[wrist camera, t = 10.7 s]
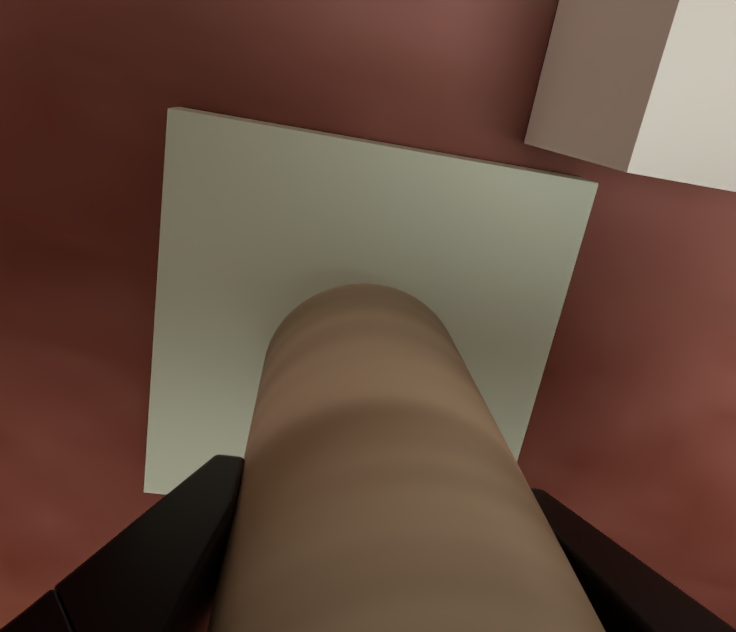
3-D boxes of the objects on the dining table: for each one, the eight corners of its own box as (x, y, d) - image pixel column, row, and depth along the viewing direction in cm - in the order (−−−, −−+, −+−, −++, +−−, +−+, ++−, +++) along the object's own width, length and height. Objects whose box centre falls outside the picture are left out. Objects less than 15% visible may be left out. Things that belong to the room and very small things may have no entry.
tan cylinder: (435, 469, 14) (682, 1290, 4) (252, 449, 13) (85, 1328, 4) (476, 298, 12) (957, 944, 3) (276, 269, 12) (108, 931, 3)
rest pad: (488, 503, 17) (497, 527, 16) (153, 468, 16) (143, 492, 15) (580, 176, 14) (598, 182, 13) (178, 106, 13) (167, 108, 12)
